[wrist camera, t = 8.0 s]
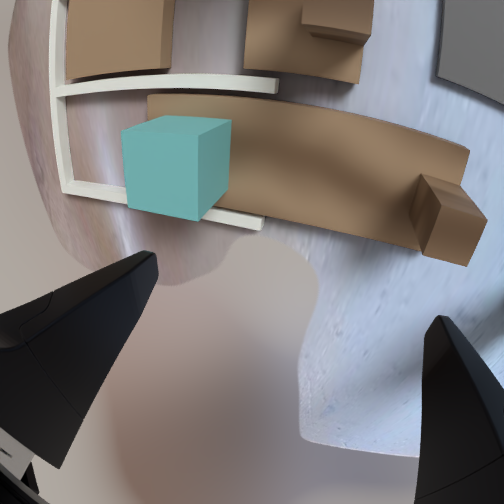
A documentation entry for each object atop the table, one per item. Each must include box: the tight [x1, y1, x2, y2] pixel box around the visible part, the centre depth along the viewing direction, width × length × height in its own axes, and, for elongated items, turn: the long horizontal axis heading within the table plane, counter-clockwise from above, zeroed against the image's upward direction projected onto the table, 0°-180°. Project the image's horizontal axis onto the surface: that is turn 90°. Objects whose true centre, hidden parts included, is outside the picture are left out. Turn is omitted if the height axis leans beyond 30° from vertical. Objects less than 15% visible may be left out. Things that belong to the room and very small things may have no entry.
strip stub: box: [243, 0, 374, 84], centre depth 12 cm, size 8×7×6 cm
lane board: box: [49, 0, 279, 231], centre depth 19 cm, size 21×21×2 cm
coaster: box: [436, 0, 504, 105], centre depth 11 cm, size 8×8×1 cm
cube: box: [121, 115, 232, 221], centre depth 18 cm, size 5×5×5 cm
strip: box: [147, 93, 488, 267], centre depth 18 cm, size 8×22×6 cm, turn 85°
